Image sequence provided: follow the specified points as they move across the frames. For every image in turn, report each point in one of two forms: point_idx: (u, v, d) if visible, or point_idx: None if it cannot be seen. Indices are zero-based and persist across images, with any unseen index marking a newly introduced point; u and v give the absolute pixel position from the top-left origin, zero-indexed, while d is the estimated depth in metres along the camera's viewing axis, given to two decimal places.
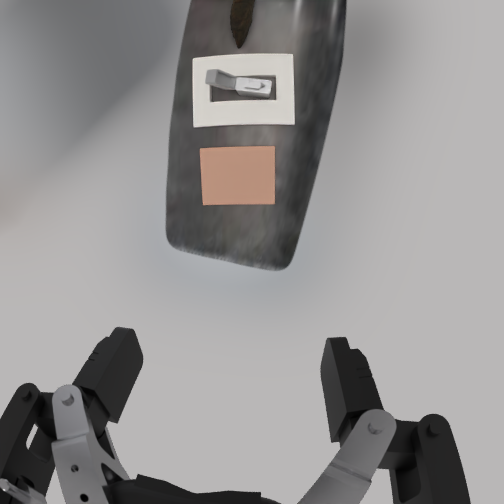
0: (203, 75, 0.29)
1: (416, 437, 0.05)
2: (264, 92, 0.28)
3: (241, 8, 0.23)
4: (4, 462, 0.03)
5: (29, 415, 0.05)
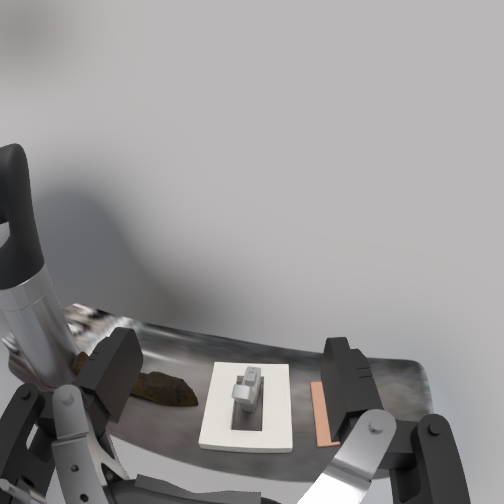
0: (225, 435, 0.24)
1: (416, 437, 0.05)
2: (259, 372, 0.30)
3: (154, 377, 0.29)
4: (4, 462, 0.03)
5: (29, 415, 0.05)
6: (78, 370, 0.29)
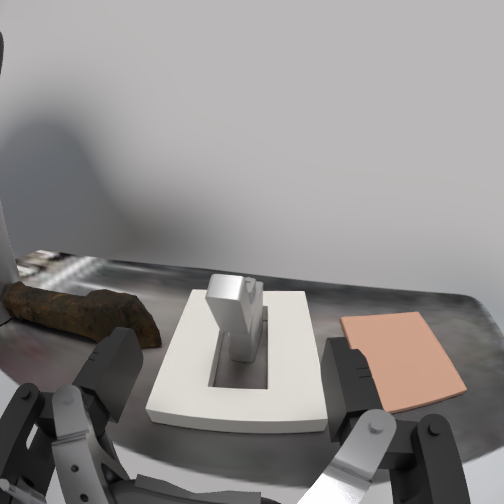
0: (197, 396, 0.14)
1: (416, 437, 0.05)
2: (260, 287, 0.19)
3: (96, 295, 0.18)
4: (4, 462, 0.03)
5: (30, 415, 0.05)
6: (9, 302, 0.18)
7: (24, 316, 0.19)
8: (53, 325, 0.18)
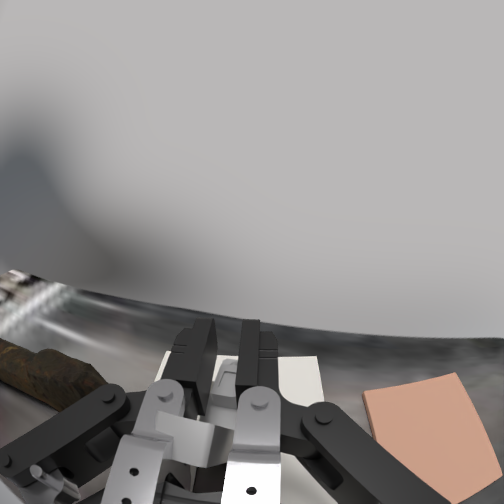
0: None
1: (307, 431, 0.06)
2: None
3: (44, 359, 0.11)
4: (47, 453, 0.04)
5: (102, 422, 0.06)
6: None
7: None
8: (8, 382, 0.11)
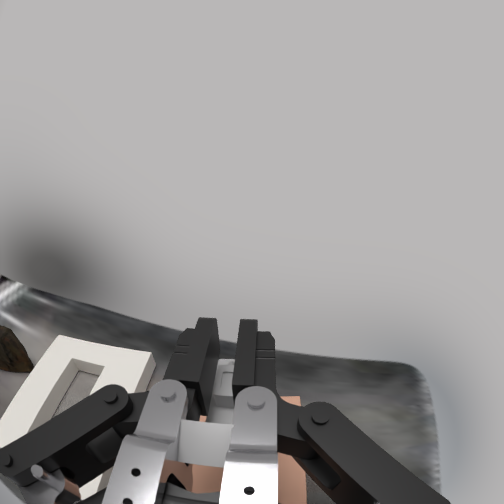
0: None
1: (303, 432, 0.06)
2: None
3: None
4: (49, 453, 0.04)
5: (104, 423, 0.06)
6: None
7: None
8: None
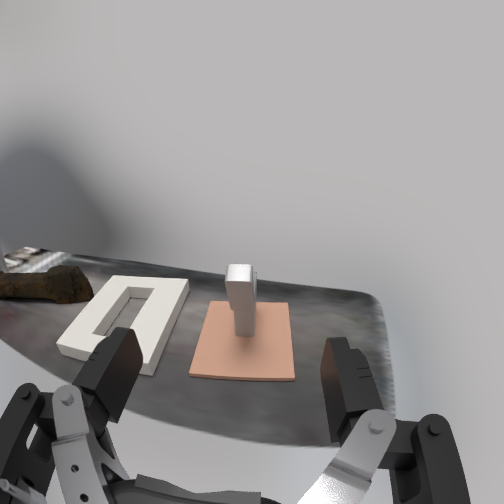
0: (84, 338, 0.20)
1: (416, 437, 0.05)
2: (255, 275, 0.24)
3: (54, 269, 0.26)
4: (4, 462, 0.03)
5: (30, 415, 0.05)
6: None
7: (7, 293, 0.25)
8: (27, 295, 0.26)
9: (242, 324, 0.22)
